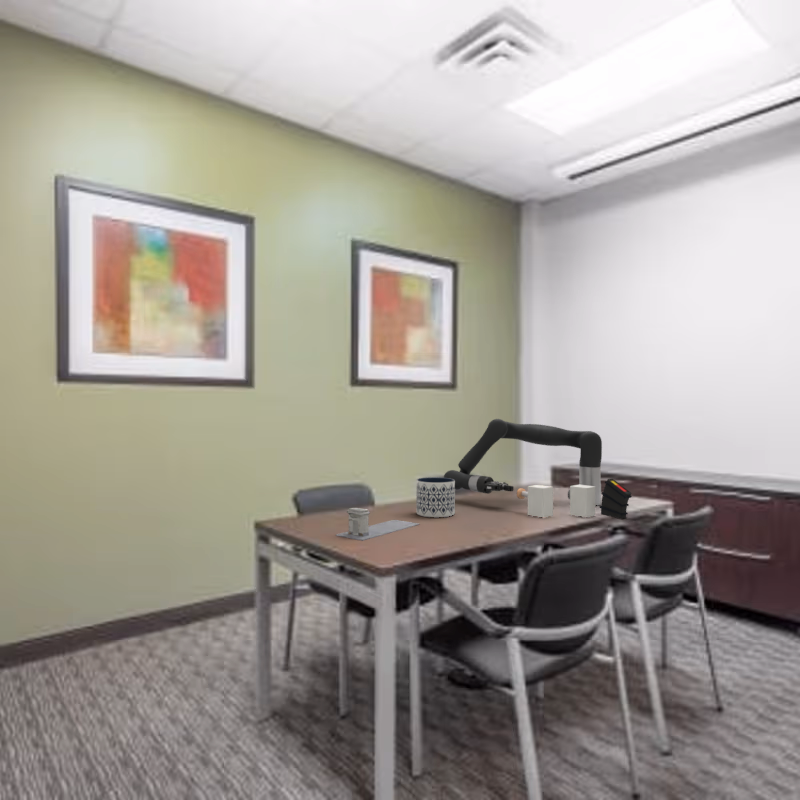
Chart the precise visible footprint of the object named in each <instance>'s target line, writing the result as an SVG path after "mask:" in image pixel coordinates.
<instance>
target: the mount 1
mask: <svg viewBox="0 0 800 800" xmlns="http://www.w3.org/2000/svg"><path fill="white" fill-rule="evenodd" d="M527 492H528V497H527V516H528V515H532V516H531V517H533V516H538V517H537V518H539V517H547V518H549V517H548V516H551V517H554V486H550V485H542V484H534V485H529V486H528V485H527Z"/></svg>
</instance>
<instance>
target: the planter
mask: <svg viewBox="0 0 800 800" xmlns="http://www.w3.org/2000/svg"><path fill="white" fill-rule="evenodd" d="M455 502H456V489H455V480H454V479H450V478H444V477H441V476H439V477H431V476H430V477H420V478H417V479H416V507H415V508H416V510H415V511H416V512H415V513H416V514H417V515H418V516H420V517H425V518H430V517H434V518H435V519H439V517H444V518H449V516H450V517H453V516H454V515H455V514H456V513H455V512H456V508H455V507H456V503H455ZM452 515H453V516H452ZM434 518H433V519H434Z"/></svg>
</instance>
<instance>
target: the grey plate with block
mask: <svg viewBox="0 0 800 800" xmlns="http://www.w3.org/2000/svg"><path fill="white" fill-rule="evenodd" d="M346 513H347V514H348V530H347V531H344V532H341V533H337V534H335V537H341V538H346V539H347V538H348V539H351V540H357V541H364V542H365V541H367V540H370V539H373V538H377V537H378V538H379V537H382V536H384V535H388V534H391V533H395V532H398V531H402V530H404V529H405V530H406V529H408V528H413V527H417V526H419V524H420V523H419V522H411V521H406V520H398V519H391V520H386V521H383V522H380V523H375V524H373V525H372V524H371V525H369V515H370V514H371V511H370V510H369V509H368V508H360V507H350V508H348V510H346ZM412 526H413V527H412Z"/></svg>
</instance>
